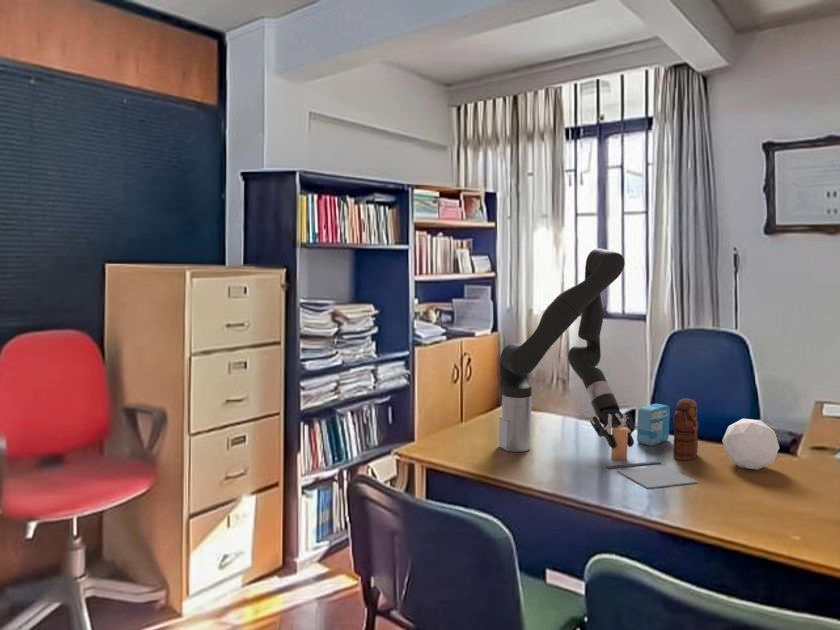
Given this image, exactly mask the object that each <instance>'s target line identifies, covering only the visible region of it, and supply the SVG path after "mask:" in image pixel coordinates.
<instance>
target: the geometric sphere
mask: <svg viewBox="0 0 840 630" xmlns="http://www.w3.org/2000/svg"><path fill="white" fill-rule="evenodd" d="M722 444H723V448H724V452H725V456H726V457H727V458H728V459H729V460H731V461H732V463H734V464H735V465H737V466H738V467H739V468H741V469H749V470H757V471H758V470H761V469H762V468H765V467H767V466H768V465H770V464H772V463H774V460H775V458H776V456H777V454H778V452H779V450H780V445H779V442H778V438H777V435H776V432H775V430H773V429H772V428H771V427H770V426H768V425H767V424H766V423H765V422H763V421H762V420H761V419H751V418H741V419H739V420H738V421H735V422H734V423H732V424H730V425H728V426H727V429H726V431H725V434H724V435H723V438H722Z"/></svg>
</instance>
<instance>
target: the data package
mask: <svg viewBox="0 0 840 630" xmlns="http://www.w3.org/2000/svg"><path fill="white" fill-rule="evenodd" d="M670 413H671V408H670V406H669V405H666V404H660V403H652V404H649V405H645V406H641V407H639V409H638V411H637V427H636V428H637V430H636V431H637V432H636V433H637V435H636V441H637V442H638V444H642V445H647V446H650V447H651V446H655V445H658V444H660V443H664V442H666V441H668V439H669V437H670V435H669V434H670V417H671V415H670Z"/></svg>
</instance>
